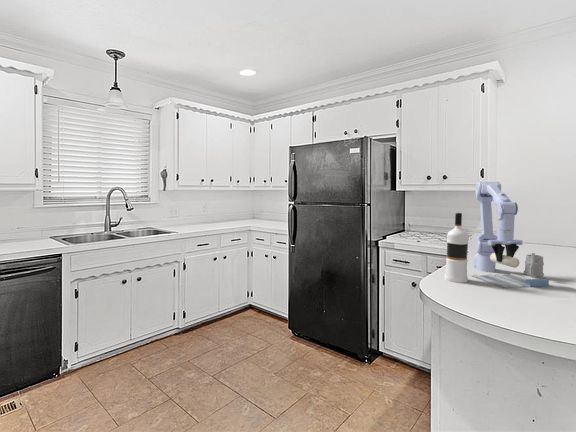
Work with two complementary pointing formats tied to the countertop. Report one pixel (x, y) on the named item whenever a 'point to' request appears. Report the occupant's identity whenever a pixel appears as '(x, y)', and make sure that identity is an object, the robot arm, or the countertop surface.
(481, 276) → the board
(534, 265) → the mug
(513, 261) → the cream paper roll
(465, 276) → the vodka
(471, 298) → the countertop surface
